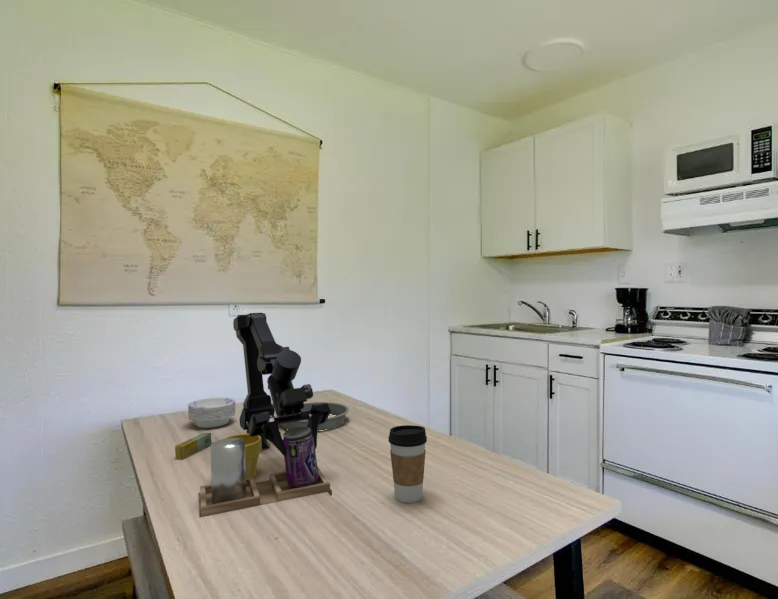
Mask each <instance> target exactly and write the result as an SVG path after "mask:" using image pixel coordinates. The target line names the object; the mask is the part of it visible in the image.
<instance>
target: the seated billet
mask: <svg viewBox="0 0 778 599" xmlns="http://www.w3.org/2000/svg"><path fill="white" fill-rule="evenodd" d="M209 448H210V479H211V480H210V481H211V483H210V485H211V487H212V503H213V504H217V503H222V502H227V501H233V500H238V499H243V498H246V460H245V440H244V439H241V438H226V439H222V438H221V439H217V440H215V441H213V442H211V445H210V447H209Z"/></svg>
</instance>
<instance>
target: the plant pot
mask: <svg viewBox="0 0 778 599" xmlns="http://www.w3.org/2000/svg"><path fill="white" fill-rule="evenodd" d="M226 438H241V439H244V440H245V460H246V478H251V477H254V478H255V476H256V475H257V469H258V461H259V458H260V457H259V456H260V454H261V453H262V450H263V449H262V440H261V436H254V437H251V436H250V434H247V433H237V434H232V435H228V436H225V437H223V438H221V439H226Z"/></svg>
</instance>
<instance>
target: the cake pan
mask: <svg viewBox="0 0 778 599" xmlns="http://www.w3.org/2000/svg"><path fill="white" fill-rule="evenodd" d="M319 403H325V401H317V402H315V401H314V402H304V408H303V409H301V412H305V411H310V409H311V407H312V405H313V404H319ZM326 403H328V404H329V406H330V408H331V413H330V414H332V415H336V416H334V417H330V418H327V420H326V422H325V423H323V424H319V426H318V427H317V432H320V431H319V430H324V431H326V430H325V429H329V430H331V429H330V428H333V429H335V428H334V427H336V428H338V427H340V426H342V425H343V424H344V423H345V420H346V415H347V414H348V413H349V410H350V409H349V407H348V406H346V405H345V404H342V403H338V402H330V401H329V402H326ZM341 424H342V425H341ZM307 425H308V423H307V420H302V421H296V422H290V423H285V424H281V427H282V428H283V429H284V428H285V429H284V430H287V429H288V430H289V429H292V428H296V427H307ZM339 425H340V426H339ZM337 426H338V427H337Z"/></svg>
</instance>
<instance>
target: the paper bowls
mask: <svg viewBox="0 0 778 599" xmlns="http://www.w3.org/2000/svg"><path fill="white" fill-rule="evenodd" d="M187 406H188V407H187V410H188V412H187V413H188V414H187V416H188V419H189V420H191V421H193V422H194V424H195V425H196V426H197V427H199V428H202V429H212V428H214V429H215V428H220V427H222V426H225V425H226V424H228V423H229V422H230V419H231V418H232V417H234V416H235V415H236V400H235V399H233V398H230V397H224V396H223V397H221V396H220V397H207V398H199V399H196V400H193V401H191V402H189V403H188V405H187Z"/></svg>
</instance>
